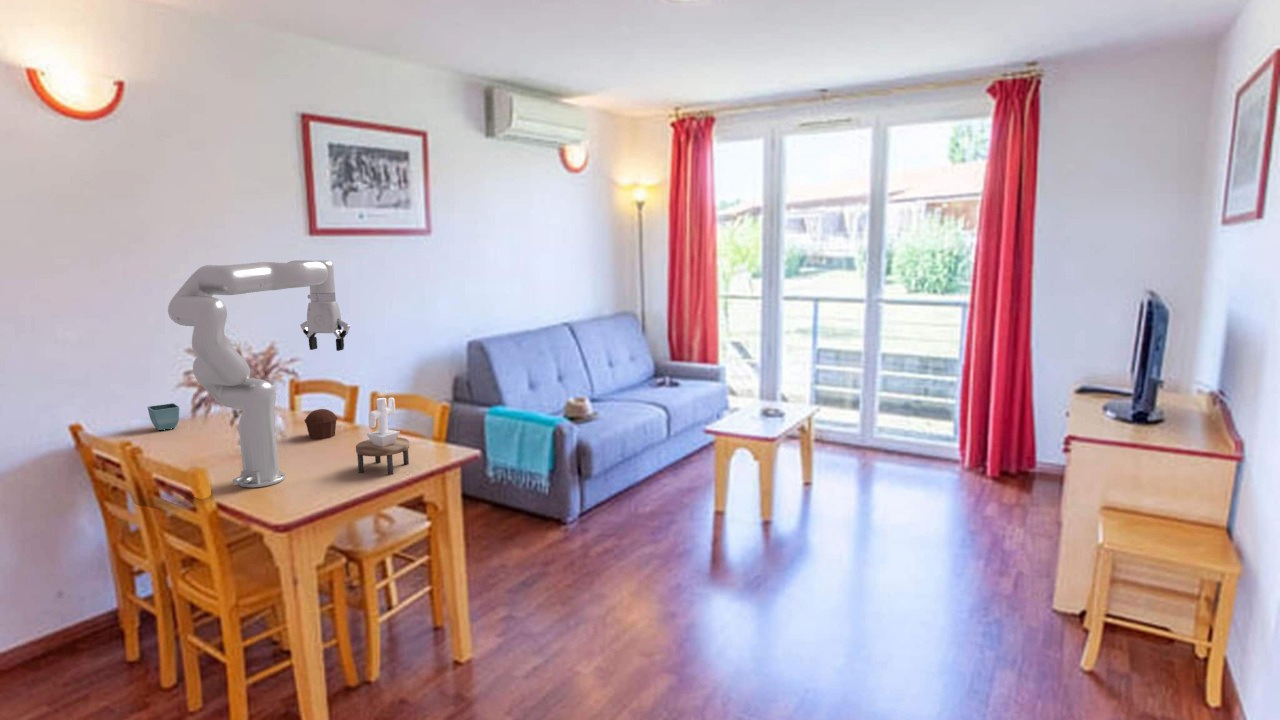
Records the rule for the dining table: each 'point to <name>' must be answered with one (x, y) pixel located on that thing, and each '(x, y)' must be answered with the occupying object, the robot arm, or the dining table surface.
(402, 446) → the walnut stool
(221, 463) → the dining table surface
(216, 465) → the dining table surface
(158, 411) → the flower pot
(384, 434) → the figurine
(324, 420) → the muffin
